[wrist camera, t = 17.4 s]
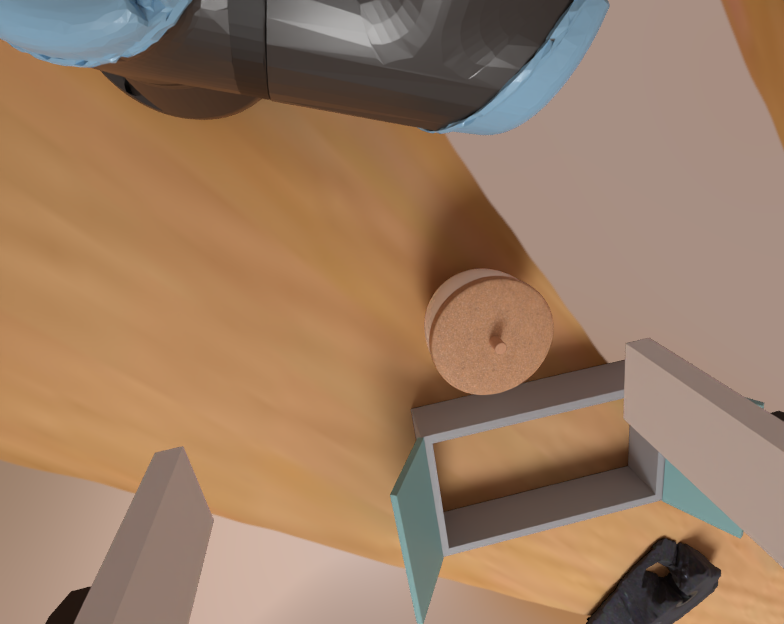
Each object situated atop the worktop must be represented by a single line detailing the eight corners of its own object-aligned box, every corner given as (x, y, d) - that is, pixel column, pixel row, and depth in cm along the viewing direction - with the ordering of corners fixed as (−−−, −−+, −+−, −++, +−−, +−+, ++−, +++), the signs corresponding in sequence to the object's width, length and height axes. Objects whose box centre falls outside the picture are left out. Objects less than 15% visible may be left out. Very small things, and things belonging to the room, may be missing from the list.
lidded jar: (405, 354, 48) (426, 404, 39) (421, 250, 44) (448, 280, 35) (505, 359, 50) (546, 407, 41) (528, 259, 46) (578, 290, 38)
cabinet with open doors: (397, 530, 56) (417, 626, 45) (373, 417, 50) (390, 497, 39) (665, 462, 59) (745, 537, 48) (674, 348, 53) (767, 404, 42)
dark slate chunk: (552, 629, 68) (568, 664, 63) (665, 525, 64) (691, 555, 59) (617, 661, 73) (636, 696, 69) (725, 567, 69) (753, 597, 65)
